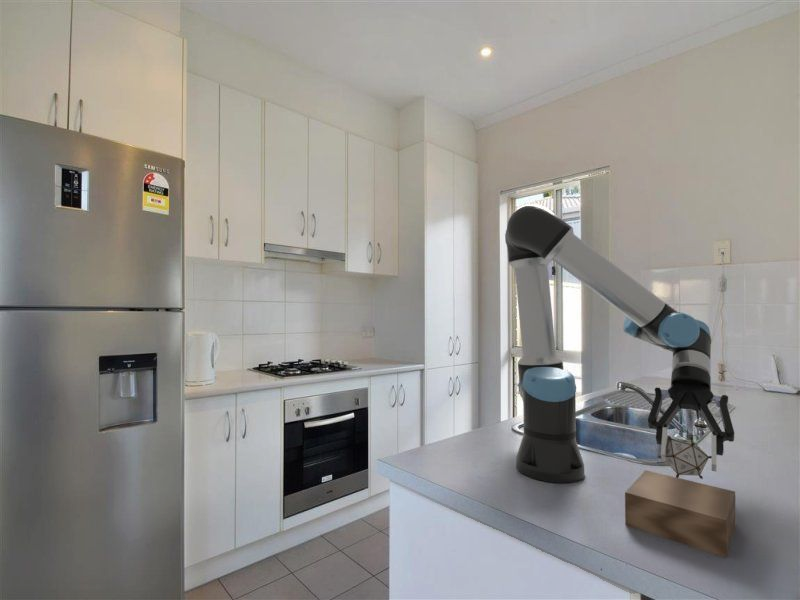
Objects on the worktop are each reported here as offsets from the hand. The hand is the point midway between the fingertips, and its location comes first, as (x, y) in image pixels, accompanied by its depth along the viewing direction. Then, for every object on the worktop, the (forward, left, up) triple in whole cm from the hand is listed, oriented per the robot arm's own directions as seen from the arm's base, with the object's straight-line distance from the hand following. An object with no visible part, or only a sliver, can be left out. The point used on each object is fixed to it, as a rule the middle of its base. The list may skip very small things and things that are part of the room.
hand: (687, 462), depth 84 cm
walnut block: (-7, -13, -7) cm, 16 cm away
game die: (+1, +3, -4) cm, 5 cm away
